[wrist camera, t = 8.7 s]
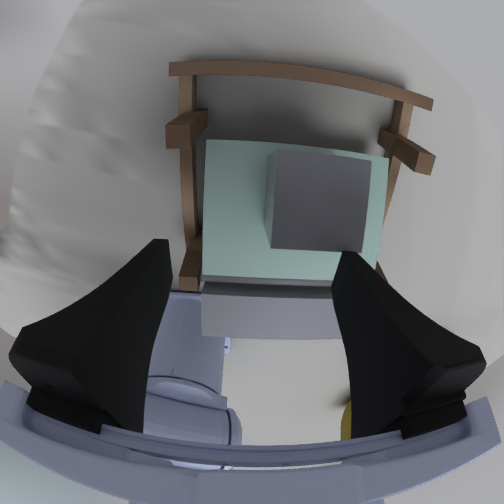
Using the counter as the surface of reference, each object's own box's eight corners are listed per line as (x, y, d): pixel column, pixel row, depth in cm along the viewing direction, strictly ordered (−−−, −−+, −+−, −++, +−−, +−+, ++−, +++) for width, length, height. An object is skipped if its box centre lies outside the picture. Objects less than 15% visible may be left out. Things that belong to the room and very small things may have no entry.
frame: (366, 251, 23) (387, 296, 19) (189, 242, 23) (174, 289, 18) (407, 91, 15) (452, 105, 11) (184, 63, 14) (156, 62, 10)
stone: (336, 162, 15) (371, 160, 11) (330, 229, 16) (361, 253, 12) (267, 156, 15) (277, 148, 10) (263, 225, 16) (270, 248, 12)
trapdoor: (347, 311, 22) (365, 337, 18) (207, 307, 21) (200, 335, 18) (369, 159, 19) (395, 158, 15) (211, 144, 18) (203, 138, 14)
